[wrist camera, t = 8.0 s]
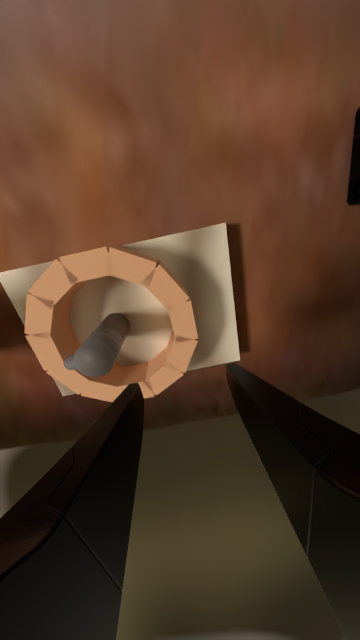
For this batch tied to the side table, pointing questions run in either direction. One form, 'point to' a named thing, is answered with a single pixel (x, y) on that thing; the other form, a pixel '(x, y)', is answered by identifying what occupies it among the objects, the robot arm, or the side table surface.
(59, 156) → the side table surface
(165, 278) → the orange segmented ring
